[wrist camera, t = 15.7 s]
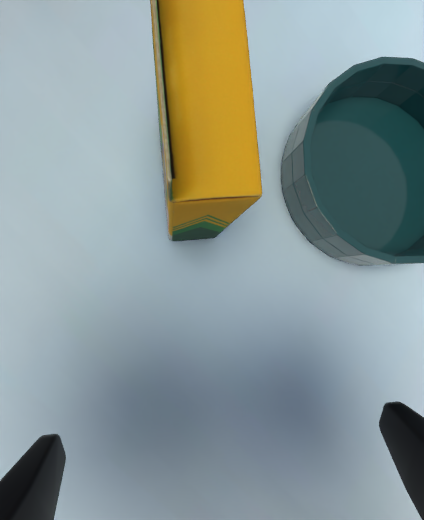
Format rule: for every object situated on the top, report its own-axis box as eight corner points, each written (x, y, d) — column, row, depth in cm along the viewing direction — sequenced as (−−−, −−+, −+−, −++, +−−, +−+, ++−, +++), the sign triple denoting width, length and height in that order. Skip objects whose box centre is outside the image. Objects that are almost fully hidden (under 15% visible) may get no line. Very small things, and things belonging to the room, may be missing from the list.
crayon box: (218, 238, 19) (288, 182, 7) (168, 241, 19) (160, 189, 7) (208, 119, 19) (259, -112, 8) (158, 121, 19) (134, -120, 7)
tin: (471, 160, 21) (529, 138, 18) (389, 299, 20) (434, 304, 17) (340, 59, 20) (374, 15, 17) (246, 198, 19) (262, 181, 16)
